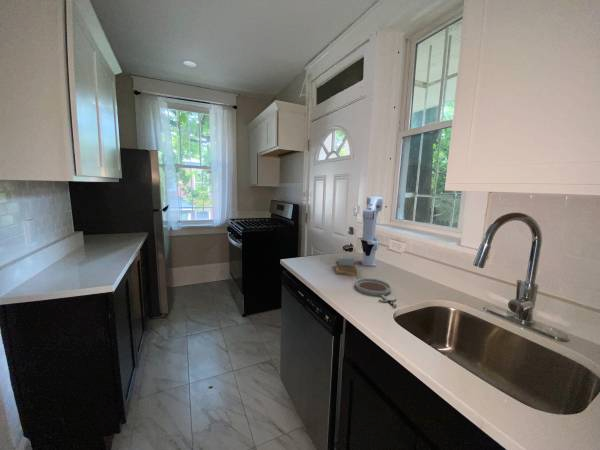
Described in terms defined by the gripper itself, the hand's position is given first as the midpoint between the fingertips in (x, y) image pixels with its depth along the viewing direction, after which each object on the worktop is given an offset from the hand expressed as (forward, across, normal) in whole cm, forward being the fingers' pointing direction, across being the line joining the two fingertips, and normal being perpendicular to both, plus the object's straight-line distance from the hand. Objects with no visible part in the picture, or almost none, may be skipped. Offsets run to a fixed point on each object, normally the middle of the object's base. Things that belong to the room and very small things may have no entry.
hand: (366, 253), depth 145 cm
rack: (+10, +1, -12) cm, 15 cm away
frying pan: (+11, +31, 0) cm, 33 cm away
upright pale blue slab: (+10, +1, -11) cm, 15 cm away
